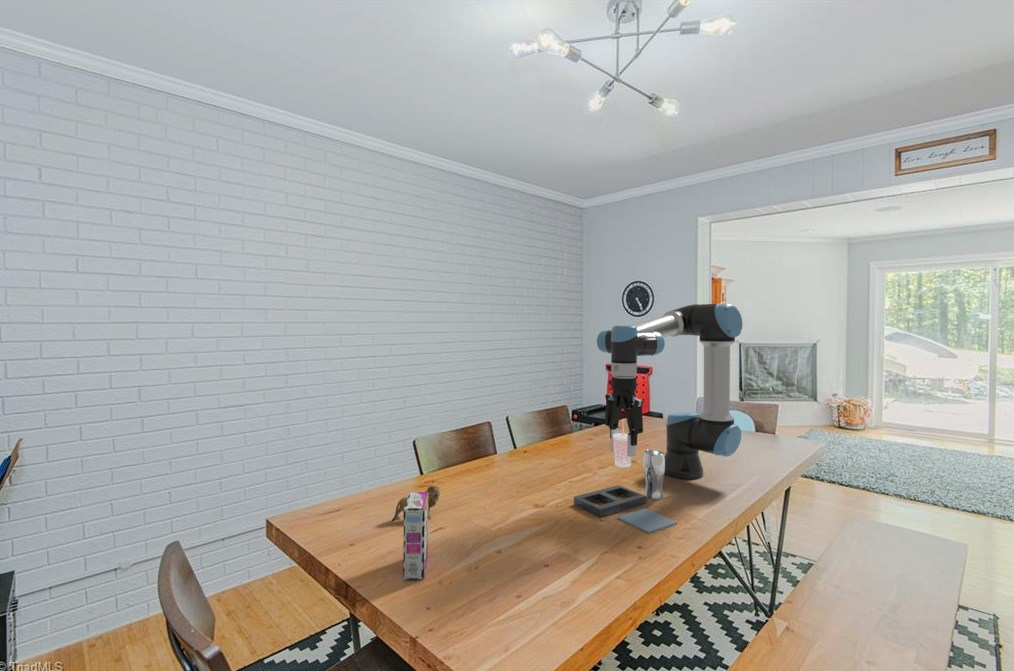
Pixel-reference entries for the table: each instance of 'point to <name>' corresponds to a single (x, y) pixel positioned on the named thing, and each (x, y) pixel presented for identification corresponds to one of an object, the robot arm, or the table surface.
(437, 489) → the lion figurine
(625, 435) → the beverage cup
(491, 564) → the table surface
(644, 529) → the slate mat
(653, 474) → the silver metal tumbler
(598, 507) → the dark grey slotted frame
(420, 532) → the candy bar box
